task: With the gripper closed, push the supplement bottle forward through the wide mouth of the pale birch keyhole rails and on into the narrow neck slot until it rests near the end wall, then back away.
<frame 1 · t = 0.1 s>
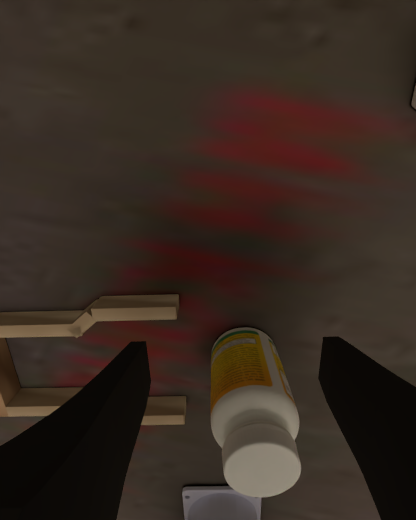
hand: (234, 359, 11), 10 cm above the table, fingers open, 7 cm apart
keyhole rails: (99, 355, 24), on the table
supplement bottle: (242, 350, 24), on the table
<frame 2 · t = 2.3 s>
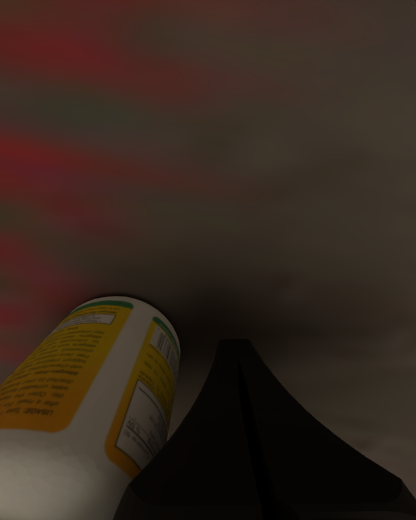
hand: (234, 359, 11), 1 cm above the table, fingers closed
supplement bottle: (123, 342, 13), on the table, touching gripper
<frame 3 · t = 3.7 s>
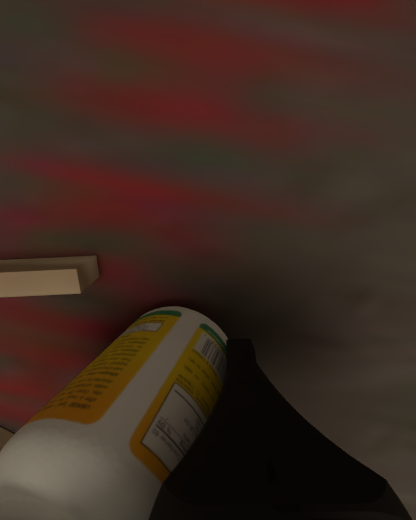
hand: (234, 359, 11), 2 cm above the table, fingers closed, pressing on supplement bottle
supplement bottle: (183, 351, 13), on the table, touching gripper
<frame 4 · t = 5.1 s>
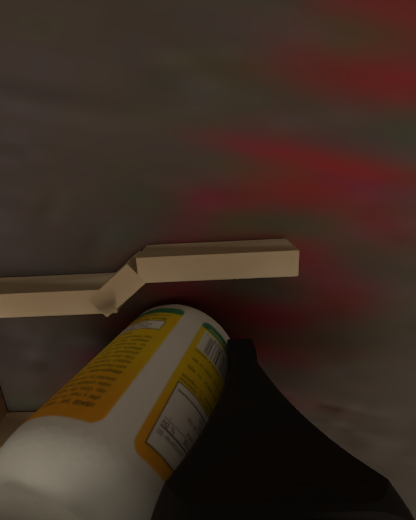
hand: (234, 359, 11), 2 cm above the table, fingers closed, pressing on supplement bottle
keyhole rails: (139, 354, 14), on the table
supplement bottle: (183, 349, 13), resting in keyhole rails, touching gripper
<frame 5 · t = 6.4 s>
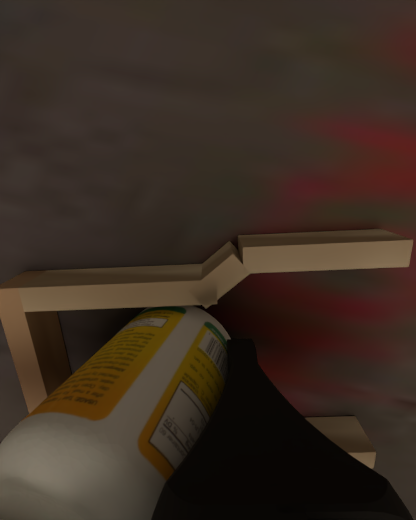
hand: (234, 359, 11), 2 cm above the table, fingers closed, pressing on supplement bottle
keyhole rails: (219, 347, 14), on the table
supplement bottle: (183, 347, 13), resting in keyhole rails, touching gripper
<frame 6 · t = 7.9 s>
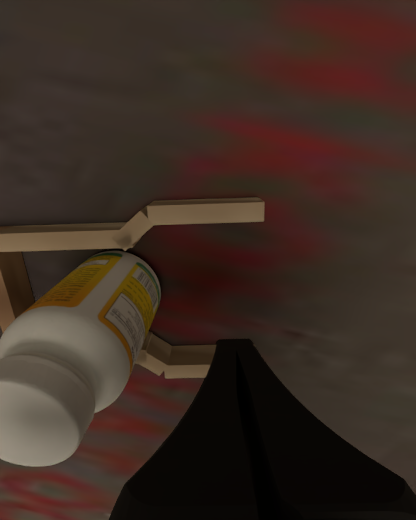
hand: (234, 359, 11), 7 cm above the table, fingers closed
keyhole rails: (147, 287, 18), on the table
supplement bottle: (121, 285, 18), resting in keyhole rails
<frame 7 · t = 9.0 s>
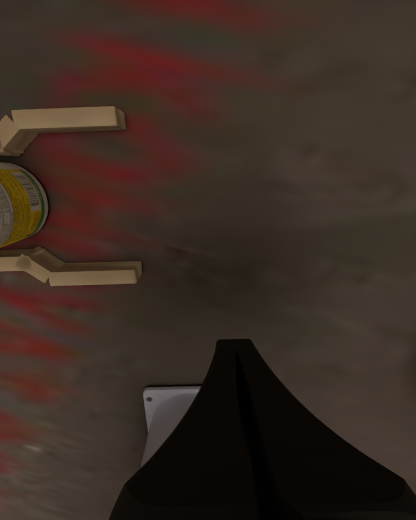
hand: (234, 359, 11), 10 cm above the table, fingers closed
keyhole rails: (35, 203, 20), on the table
supplement bottle: (12, 201, 20), resting in keyhole rails
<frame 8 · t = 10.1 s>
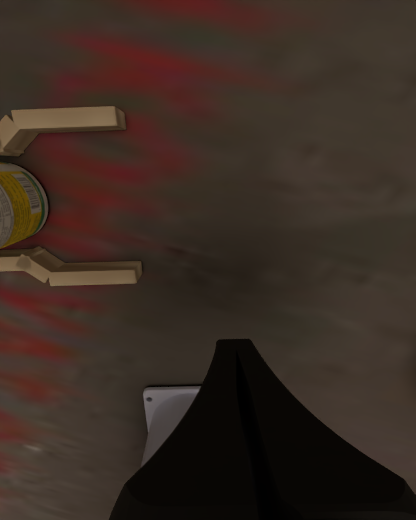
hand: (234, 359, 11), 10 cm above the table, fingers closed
keyhole rails: (35, 203, 20), on the table
supplement bottle: (12, 201, 20), resting in keyhole rails
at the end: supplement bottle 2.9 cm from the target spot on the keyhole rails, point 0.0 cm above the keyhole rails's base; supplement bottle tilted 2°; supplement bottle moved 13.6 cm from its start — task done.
